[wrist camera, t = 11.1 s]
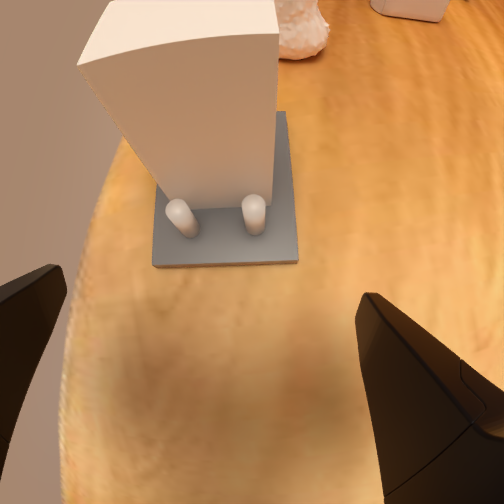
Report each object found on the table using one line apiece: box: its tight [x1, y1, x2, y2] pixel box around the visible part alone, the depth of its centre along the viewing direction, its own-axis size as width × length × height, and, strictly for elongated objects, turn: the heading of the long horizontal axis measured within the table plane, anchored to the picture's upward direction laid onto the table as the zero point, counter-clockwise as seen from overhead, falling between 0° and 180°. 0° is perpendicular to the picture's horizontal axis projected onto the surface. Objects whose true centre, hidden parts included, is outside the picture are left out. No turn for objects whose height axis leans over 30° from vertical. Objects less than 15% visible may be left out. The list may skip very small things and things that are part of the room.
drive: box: [77, 0, 280, 210], centre depth 14 cm, size 4×6×13 cm, turn 92°
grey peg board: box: [152, 111, 299, 268], centre depth 19 cm, size 11×9×4 cm
